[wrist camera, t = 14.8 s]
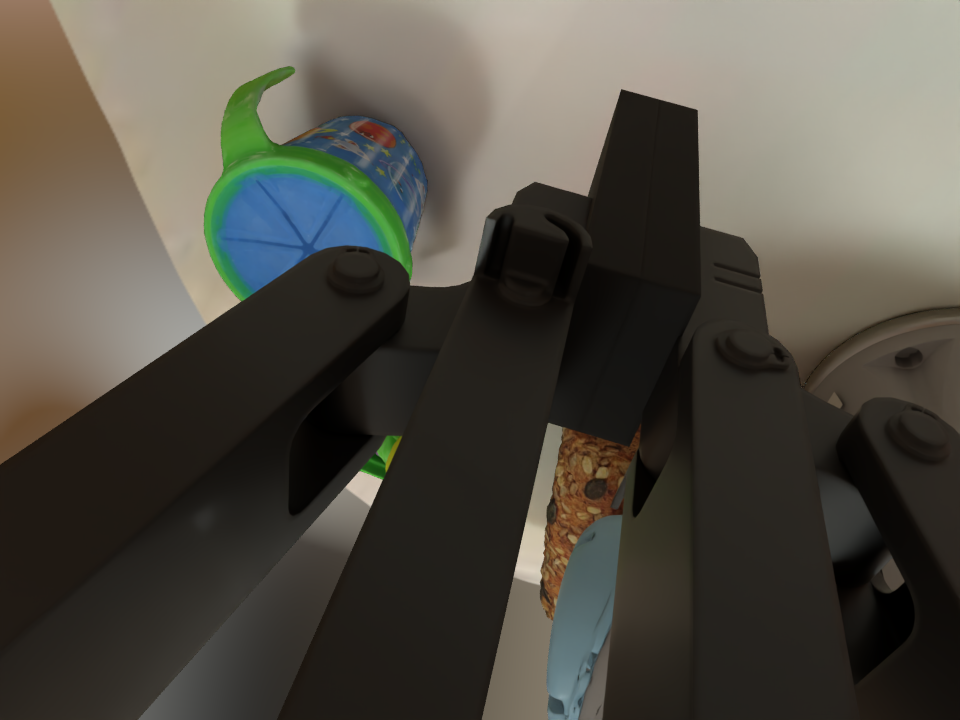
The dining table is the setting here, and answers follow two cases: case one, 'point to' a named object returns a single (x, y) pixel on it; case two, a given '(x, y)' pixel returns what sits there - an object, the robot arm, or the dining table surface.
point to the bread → (579, 500)
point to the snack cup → (308, 192)
